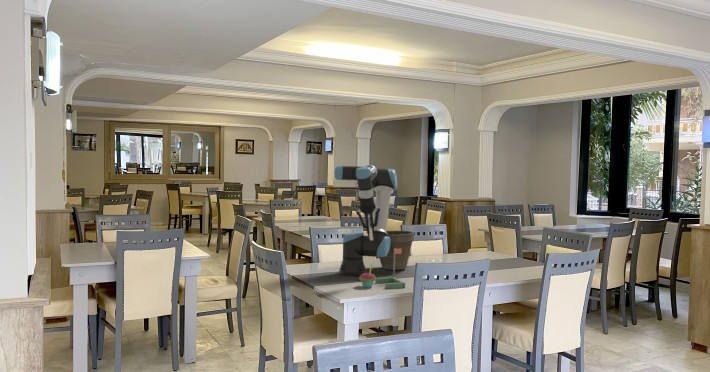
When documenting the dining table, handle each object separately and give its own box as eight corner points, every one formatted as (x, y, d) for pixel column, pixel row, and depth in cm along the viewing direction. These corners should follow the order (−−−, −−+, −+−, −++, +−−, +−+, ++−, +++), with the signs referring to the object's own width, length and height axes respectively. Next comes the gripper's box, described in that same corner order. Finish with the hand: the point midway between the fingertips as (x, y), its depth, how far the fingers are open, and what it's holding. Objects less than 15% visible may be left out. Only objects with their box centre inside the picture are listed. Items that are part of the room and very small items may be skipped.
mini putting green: (386, 288, 283) (386, 253, 282) (374, 282, 297) (375, 248, 297) (412, 287, 288) (413, 252, 287) (400, 281, 302) (401, 248, 302)
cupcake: (375, 285, 291) (375, 262, 291) (376, 288, 283) (376, 264, 282) (358, 284, 291) (359, 261, 291) (359, 288, 283) (359, 264, 282)
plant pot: (422, 265, 343) (420, 230, 343) (404, 272, 322) (402, 234, 322) (386, 263, 356) (384, 229, 356) (366, 270, 335) (365, 234, 335)
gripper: (355, 200, 285) (360, 243, 291) (380, 196, 286) (384, 239, 292) (352, 196, 292) (358, 239, 298) (377, 193, 294) (382, 235, 300)
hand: (371, 239), depth 295 cm, fingers closed
